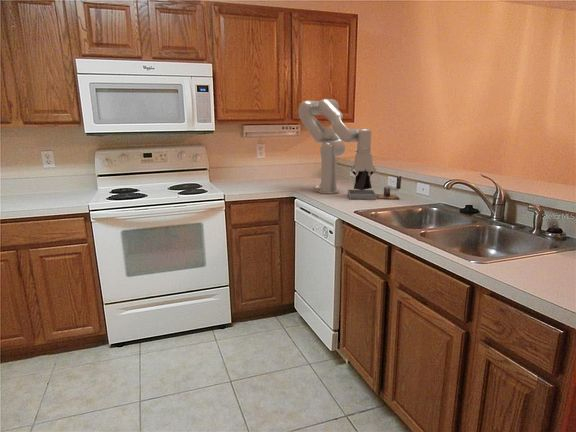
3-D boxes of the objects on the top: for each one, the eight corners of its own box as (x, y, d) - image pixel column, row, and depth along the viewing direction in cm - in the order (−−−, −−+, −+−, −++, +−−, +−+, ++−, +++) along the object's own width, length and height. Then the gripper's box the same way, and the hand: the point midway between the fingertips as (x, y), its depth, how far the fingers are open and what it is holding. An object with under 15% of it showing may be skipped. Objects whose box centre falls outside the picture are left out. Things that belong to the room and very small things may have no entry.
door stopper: (361, 190, 222) (362, 168, 219) (353, 188, 226) (354, 168, 224) (371, 188, 227) (372, 167, 225) (363, 187, 232) (364, 166, 229)
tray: (349, 199, 221) (349, 194, 220) (347, 194, 237) (347, 189, 236) (376, 200, 220) (376, 194, 219) (372, 194, 236) (373, 190, 235)
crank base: (377, 199, 222) (377, 197, 222) (374, 195, 233) (375, 193, 233) (399, 199, 221) (399, 197, 221) (395, 195, 232) (395, 193, 232)
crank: (382, 195, 226) (383, 175, 224) (385, 194, 229) (386, 174, 227) (398, 197, 221) (400, 176, 218) (400, 196, 224) (402, 176, 221)
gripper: (348, 151, 219) (348, 183, 223) (379, 151, 218) (378, 183, 222) (348, 150, 227) (347, 181, 231) (378, 150, 225) (376, 182, 229)
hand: (362, 182), depth 226 cm, fingers closed on door stopper, 5 cm apart
